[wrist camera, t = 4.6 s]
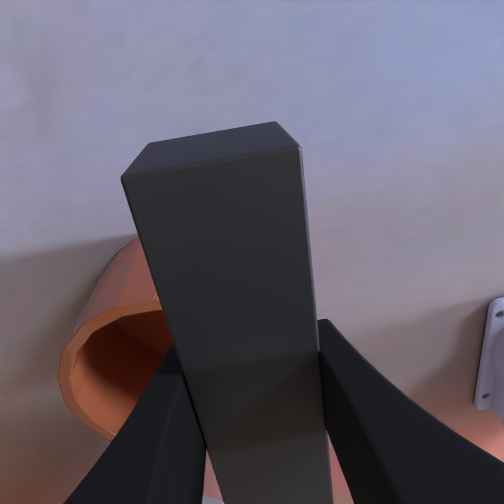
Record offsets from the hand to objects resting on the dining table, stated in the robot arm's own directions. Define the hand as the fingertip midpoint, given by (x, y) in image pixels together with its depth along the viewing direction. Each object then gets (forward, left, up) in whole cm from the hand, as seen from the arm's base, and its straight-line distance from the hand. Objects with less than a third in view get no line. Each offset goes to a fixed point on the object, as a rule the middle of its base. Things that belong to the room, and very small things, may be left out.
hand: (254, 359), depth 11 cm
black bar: (0, 0, -1) cm, 1 cm away
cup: (-4, +4, -10) cm, 11 cm away
